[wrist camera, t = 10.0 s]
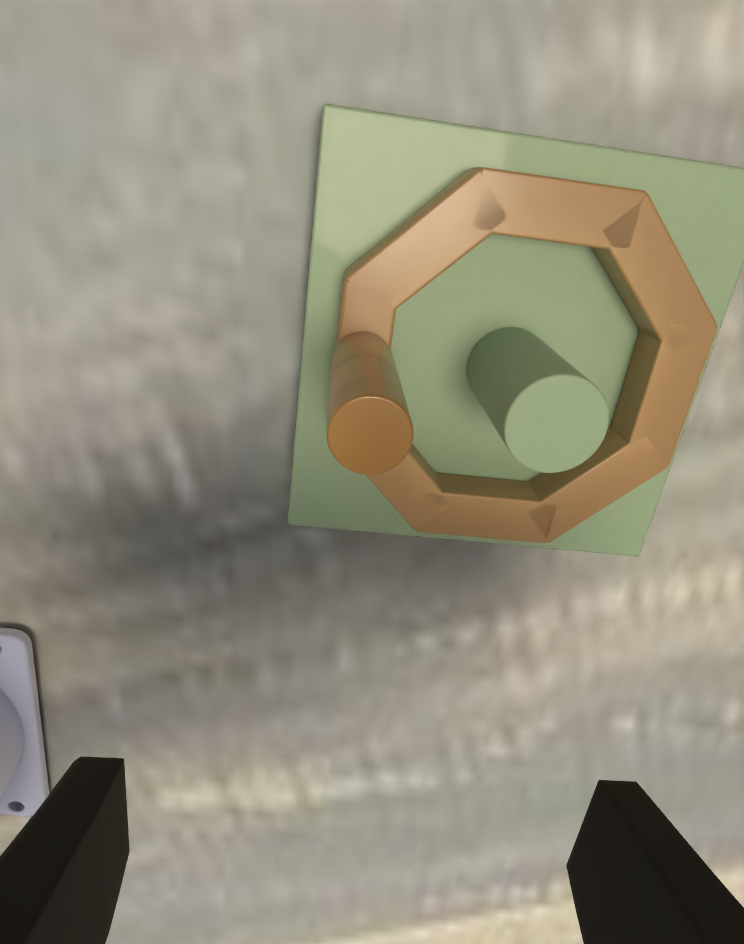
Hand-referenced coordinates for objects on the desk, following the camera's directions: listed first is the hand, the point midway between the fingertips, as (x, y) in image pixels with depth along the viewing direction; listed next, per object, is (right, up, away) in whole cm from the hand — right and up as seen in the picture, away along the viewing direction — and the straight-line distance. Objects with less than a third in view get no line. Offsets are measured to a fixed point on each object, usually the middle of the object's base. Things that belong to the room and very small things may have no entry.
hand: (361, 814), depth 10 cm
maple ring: (+3, +8, +6) cm, 10 cm away
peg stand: (+3, +8, +7) cm, 11 cm away
